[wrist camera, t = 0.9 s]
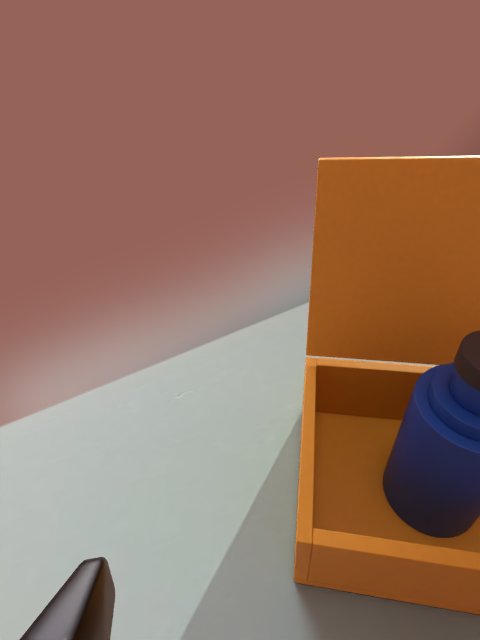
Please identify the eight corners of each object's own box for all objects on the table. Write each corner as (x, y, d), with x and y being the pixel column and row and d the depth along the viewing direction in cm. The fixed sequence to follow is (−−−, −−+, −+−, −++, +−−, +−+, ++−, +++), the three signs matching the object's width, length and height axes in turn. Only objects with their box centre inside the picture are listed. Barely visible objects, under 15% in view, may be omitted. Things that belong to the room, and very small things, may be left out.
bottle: (497, 514, 22) (616, 377, 14) (425, 555, 20) (512, 428, 13) (430, 440, 25) (494, 301, 18) (364, 471, 24) (405, 334, 16)
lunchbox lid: (687, 154, 16) (625, 144, 19) (318, 159, 19) (318, 150, 22) (573, 375, 22) (540, 339, 25) (306, 355, 25) (307, 325, 28)
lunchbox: (624, 640, 18) (715, 607, 14) (293, 582, 20) (296, 542, 17) (526, 430, 26) (567, 375, 22) (302, 408, 29) (306, 356, 25)
